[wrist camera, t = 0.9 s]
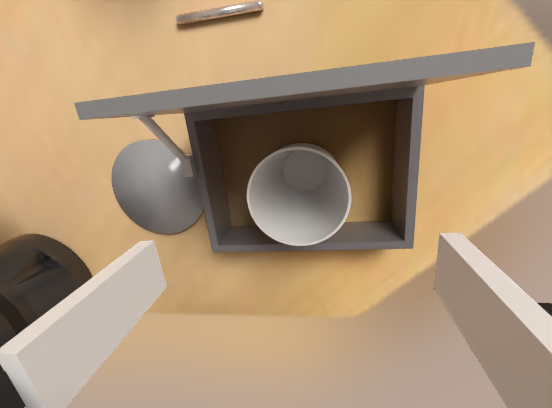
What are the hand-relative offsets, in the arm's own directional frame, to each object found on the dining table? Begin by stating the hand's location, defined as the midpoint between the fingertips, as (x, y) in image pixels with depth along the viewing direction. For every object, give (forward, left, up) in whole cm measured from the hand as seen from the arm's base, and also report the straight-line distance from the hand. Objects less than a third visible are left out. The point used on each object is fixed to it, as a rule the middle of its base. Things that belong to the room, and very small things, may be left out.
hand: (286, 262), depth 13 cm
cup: (0, 0, -19) cm, 19 cm away
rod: (-7, +16, -19) cm, 26 cm away
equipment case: (0, 0, -19) cm, 19 cm away
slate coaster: (-18, -1, -19) cm, 26 cm away
